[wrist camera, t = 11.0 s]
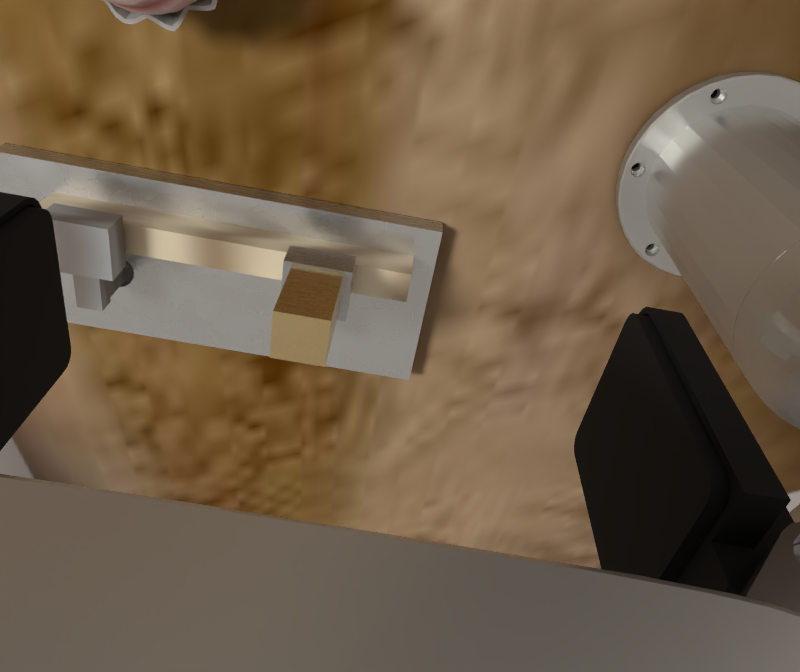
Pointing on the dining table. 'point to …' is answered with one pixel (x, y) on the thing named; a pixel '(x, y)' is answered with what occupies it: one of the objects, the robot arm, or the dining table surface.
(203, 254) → the sliding bolt bar
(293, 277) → the block
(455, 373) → the dining table surface
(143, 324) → the bolt plate
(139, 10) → the cupcake
